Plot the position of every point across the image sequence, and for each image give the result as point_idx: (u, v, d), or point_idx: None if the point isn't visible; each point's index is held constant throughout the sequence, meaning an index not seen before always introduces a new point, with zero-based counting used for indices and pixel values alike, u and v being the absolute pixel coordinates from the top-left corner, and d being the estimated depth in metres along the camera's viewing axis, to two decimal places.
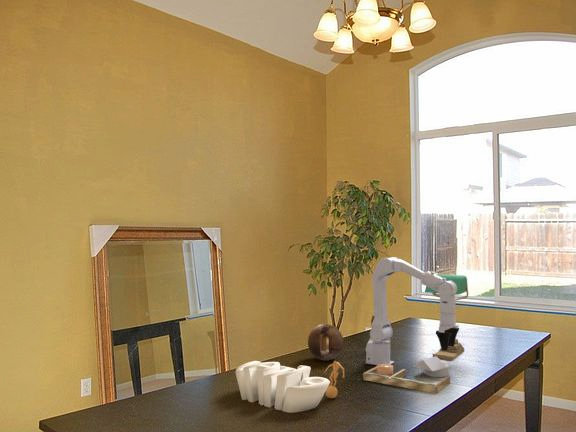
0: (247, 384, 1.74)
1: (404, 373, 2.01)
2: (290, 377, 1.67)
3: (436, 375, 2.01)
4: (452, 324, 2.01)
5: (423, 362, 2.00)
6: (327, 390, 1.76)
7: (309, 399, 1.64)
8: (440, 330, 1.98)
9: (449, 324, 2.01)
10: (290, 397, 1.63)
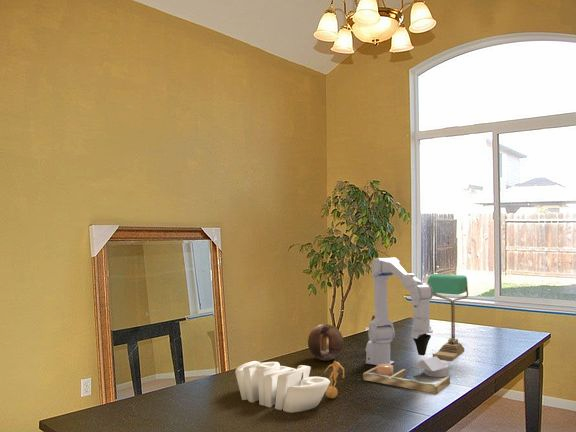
0: (247, 384, 1.74)
1: (404, 373, 2.01)
2: (291, 377, 1.67)
3: (436, 375, 2.01)
4: (426, 330, 1.92)
5: (423, 362, 2.00)
6: (327, 390, 1.76)
7: (310, 398, 1.65)
8: (413, 336, 1.89)
9: (423, 330, 1.91)
10: (291, 397, 1.63)
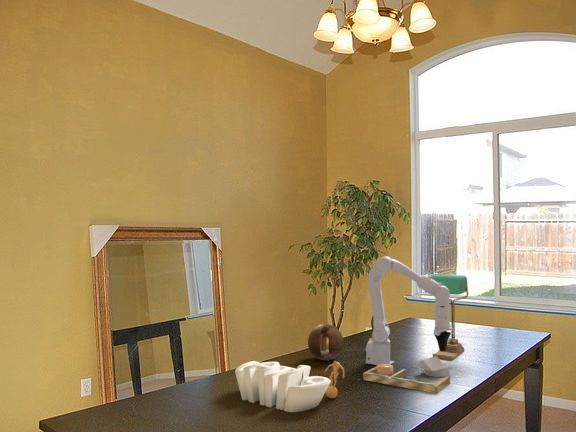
0: (247, 384, 1.74)
1: (404, 373, 2.01)
2: (291, 377, 1.67)
3: (436, 375, 2.01)
4: (446, 327, 2.10)
5: (423, 362, 2.00)
6: (327, 390, 1.76)
7: (311, 398, 1.65)
8: (435, 333, 2.07)
9: (444, 327, 2.10)
10: (292, 397, 1.63)
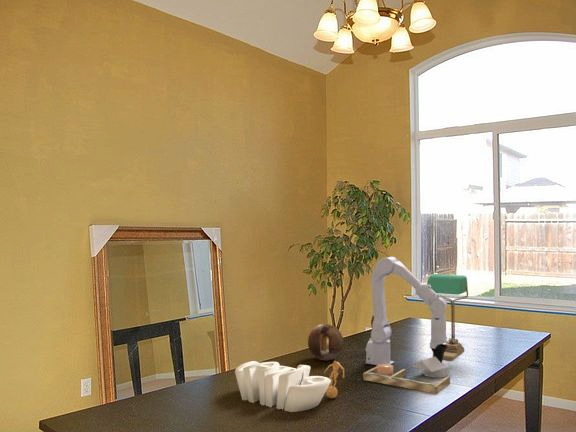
0: (247, 384, 1.74)
1: (404, 373, 2.01)
2: (292, 376, 1.68)
3: (435, 375, 2.00)
4: (443, 340, 2.06)
5: (422, 362, 1.99)
6: (327, 390, 1.76)
7: (312, 398, 1.65)
8: (431, 346, 2.03)
9: (440, 340, 2.06)
10: (293, 397, 1.64)
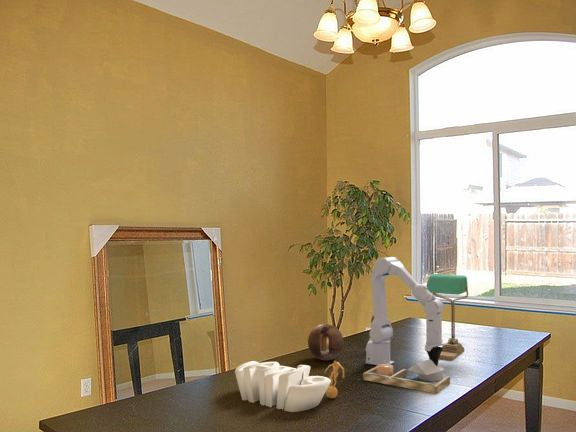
0: (247, 384, 1.74)
1: (404, 373, 2.01)
2: (292, 376, 1.68)
3: (430, 379, 1.96)
4: (438, 342, 2.02)
5: (417, 365, 1.95)
6: (327, 390, 1.76)
7: (312, 398, 1.65)
8: (426, 349, 1.99)
9: (435, 342, 2.02)
10: (293, 397, 1.64)
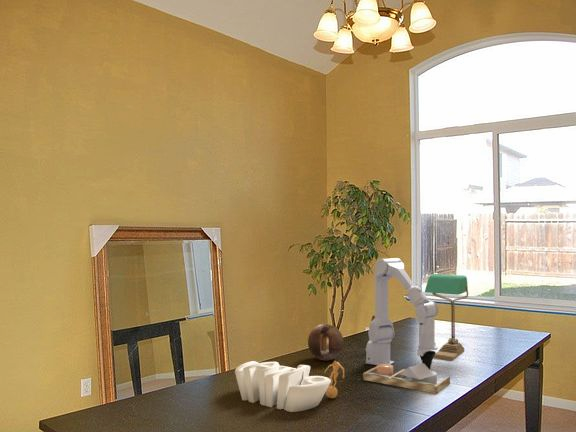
0: (247, 384, 1.74)
1: None
2: (292, 376, 1.68)
3: None
4: (431, 347, 1.96)
5: (409, 370, 1.89)
6: (327, 390, 1.76)
7: (312, 398, 1.65)
8: (419, 353, 1.93)
9: (428, 347, 1.96)
10: (293, 397, 1.64)
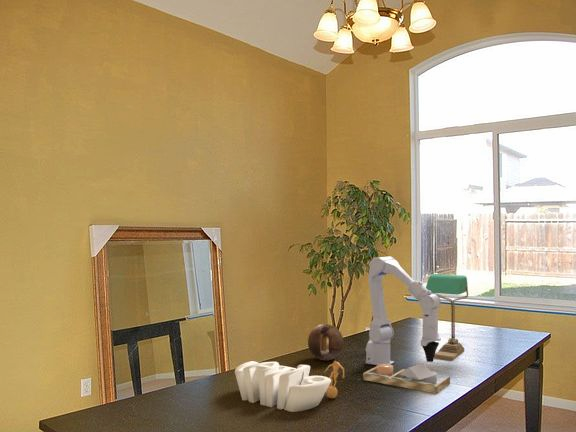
0: (248, 384, 1.74)
1: None
2: (292, 376, 1.68)
3: None
4: (434, 337, 2.02)
5: (409, 370, 1.89)
6: (327, 390, 1.76)
7: (312, 398, 1.65)
8: (422, 344, 1.98)
9: (431, 337, 2.01)
10: (293, 397, 1.64)
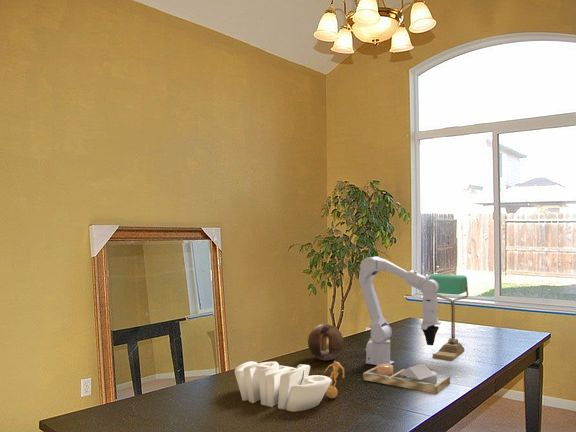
0: (248, 385, 1.74)
1: None
2: (293, 376, 1.68)
3: None
4: (434, 321, 2.07)
5: (409, 370, 1.89)
6: (327, 390, 1.76)
7: (313, 397, 1.66)
8: (422, 327, 2.04)
9: (431, 321, 2.07)
10: (295, 396, 1.64)
